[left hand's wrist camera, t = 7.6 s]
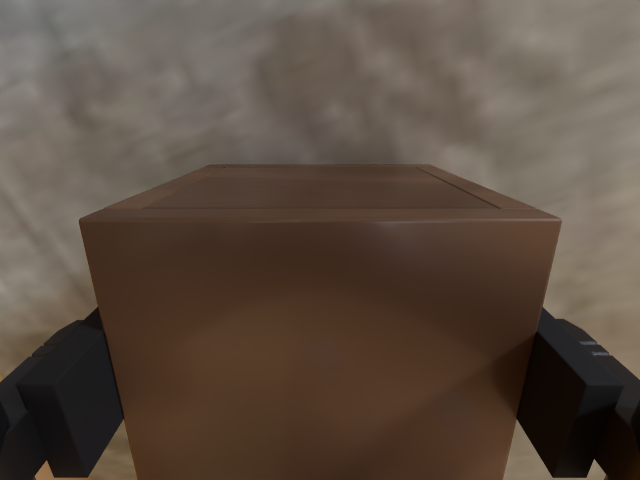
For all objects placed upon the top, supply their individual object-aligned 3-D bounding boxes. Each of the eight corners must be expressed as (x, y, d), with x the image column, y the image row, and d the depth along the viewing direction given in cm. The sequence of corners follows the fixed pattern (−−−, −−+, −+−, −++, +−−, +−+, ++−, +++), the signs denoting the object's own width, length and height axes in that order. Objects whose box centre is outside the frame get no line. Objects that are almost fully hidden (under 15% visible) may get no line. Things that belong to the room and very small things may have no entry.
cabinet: (403, 433, 22) (463, 657, 13) (236, 433, 22) (176, 656, 13) (430, 164, 17) (564, 218, 8) (209, 164, 17) (75, 218, 8)
